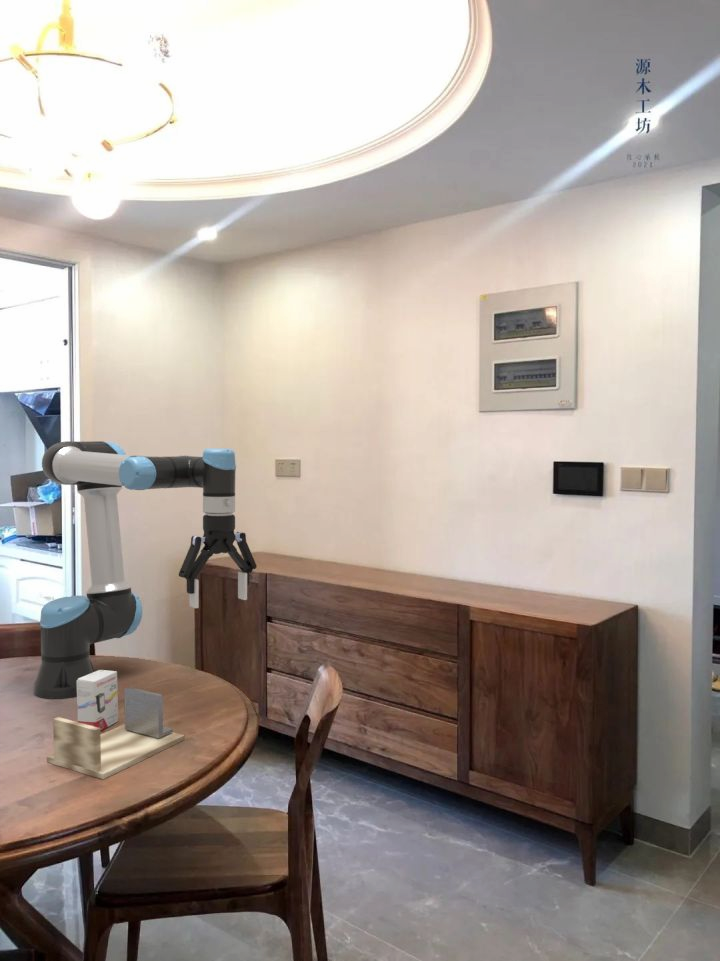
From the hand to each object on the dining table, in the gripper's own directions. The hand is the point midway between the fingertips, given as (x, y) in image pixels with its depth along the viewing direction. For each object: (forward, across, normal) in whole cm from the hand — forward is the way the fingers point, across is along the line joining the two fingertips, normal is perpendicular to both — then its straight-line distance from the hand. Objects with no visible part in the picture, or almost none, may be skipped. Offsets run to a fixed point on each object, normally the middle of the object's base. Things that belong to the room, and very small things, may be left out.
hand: (218, 603), depth 176 cm
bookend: (+24, -20, -3) cm, 32 cm away
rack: (+26, -28, -6) cm, 39 cm away
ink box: (+26, -26, +10) cm, 38 cm away
